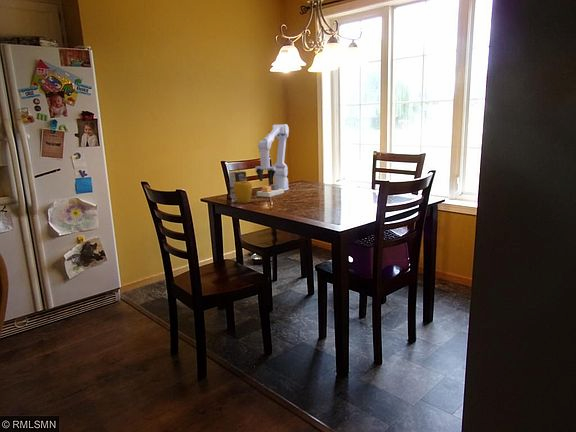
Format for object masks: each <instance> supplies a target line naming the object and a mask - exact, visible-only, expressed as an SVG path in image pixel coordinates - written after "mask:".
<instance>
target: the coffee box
mask: <svg viewBox="0 0 576 432" xmlns="http://www.w3.org/2000/svg"><path fill="white" fill-rule="evenodd" d="M246 172H247V171H243V170H242V171H240V170H238V171H232V172H229V175H228V176H229V194H230V199H235V200H237V199H236V197H235V193H234V183H236V182H242V181H247V173H246Z"/></svg>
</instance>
